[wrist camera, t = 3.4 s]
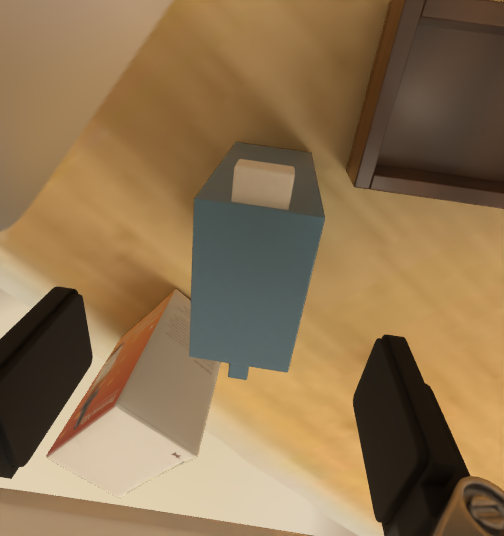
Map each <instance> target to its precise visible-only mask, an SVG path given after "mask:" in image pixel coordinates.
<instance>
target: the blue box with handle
mask: <svg viewBox="0 0 504 536" xmlns="http://www.w3.org/2000/svg"><path fill="white" fill-rule="evenodd" d="M324 221H325V215H324V211H323V206H322V201H321V196H320V191H319V187H318V182H317V177H316V172H315V168H314V163H313V158H312V153H310V152H303V151H296V150H289V149H282V148H275V147H268V146H261V145H254V144H247V143H240V142H235V144H234V145H233V146H232V148H231V149H230V151H229V152H228V153H227V155H226V156H225V157H224V159H223V160H222V161H221V163H220V164H219V166H218V167H217V168H216V170H215V171H214V172H213V174H212V175H211V176H210V178H209V179H208V181H207V182H206V183H205V185H204V186H203V187H202V189H201V190H200V191H199V193H198V194H197V195H196V197H195V198H194V216H193V248H192V280H191V313H190V345H189V357H194V358H200V359H206V360H212V361H219V362H225V363H230V364H229V372H228V377H230V378H237V379H243V380H247V376H248V370H249V366H250V367H256V368H262V369H269V370H275V371H281V372H288V370H289V366H290V362H291V358H292V354H293V349H294V345H295V341H296V337H297V333H298V329H299V325H300V320H301V316H302V312H303V308H304V304H305V300H306V296H307V292H308V287H309V283H310V279H311V275H312V271H313V267H314V263H315V258H316V254H317V250H318V246H319V242H320V238H321V234H322V230H323V225H324Z"/></svg>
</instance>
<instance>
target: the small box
mask: <svg viewBox="0 0 504 536" xmlns="http://www.w3.org/2000/svg"><path fill="white" fill-rule="evenodd" d="M190 313H191V300H189V299H188V298H187V297H186V296H184V295H183V294H182V293H181V292H180V291H178V290H177V289H175V290H174V291H173V292H172V293H171V294H170V295H169V296H168V297H167V298H166V299H165V300H163V301H162V302H161V303H160V304H159V305H158V306H157V307H156V308H155V309H154V310H152V311H151V312H150V313H149V314H148V315H147V316H145V317H144V318H143V319H142V320H141V321H140V322H138V323H137V324H136V325H135V326H134V327H133V328H132V329H131V330H129V331H128V332H127V333H126V334H125V335H124V336H122V337H121V339H120V340H119V342H118V343H117V345H116V347H115V348H114V350H113V352H112V353H111V355H110V356H109V358H108V359H107V361H106V363H105V364H104V366H103V367H102V369H101V370H100V372H99V374H98V375H97V377H96V378H95V380H94V381H93V383H92V385H91V386H90V388H89V390H88V391H87V393H86V394H85V396H84V398H83V399H82V400H81V402H80V403H79V405H78V406H77V408H76V410H75V411H74V413H73V414H72V416H71V417H70V419H69V421H68V422H67V424H66V426H65V427H64V429H63V430H62V432H61V433H60V435H59V437H58V438H57V440H56V441H55V443H54V444H53V446H52V447H51V449H50V451H49V452H48V454H47V455H46V456H47V458H48V459H50V460H51V461H53V462H55V463H56V464H58V465H60V466H62V467H63V468H65V469H67V470H69V471H70V472H72V473H74V474H76V475H78V476H79V477H81V478H83V479H85V480H87V481H88V482H90V483H92V484H94V485H96V486H97V487H99V488H101V489H103V490H104V491H106V492H108V493H110V494H112V495H114V496H116V497H117V498H121V497H123V496H124V495H126V494H127V493H129V492H130V491H132V490H134V489H136V488H137V487H139V486H141V485H143V484H144V483H146V482H148V481H150V480H152V479H154V478H156V477H158V476H159V475H161V474H163V473H165V472H167V471H169V470H171V469H173V468H175V467H177V466H179V465H181V464H183V463H185V462H188V461H190V460H192V459H195V458H197V457H198V454H199V449H200V445H201V441H202V437H203V433H204V429H205V425H206V421H207V416H208V412H209V408H210V404H211V400H212V396H213V392H214V388H215V384H216V380H217V376H218V372H219V368H220V364H221V362H219V361H212V360H206V359H200V358H194V357H189V345H190Z"/></svg>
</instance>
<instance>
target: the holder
mask: <svg viewBox="0 0 504 536" xmlns="http://www.w3.org/2000/svg"><path fill="white" fill-rule="evenodd" d="M346 172H347V174H348V176H349V178H350V180H351V182H352V184H353V186H354V187H357V188H363V189H371V190H378V191H385V192H391V193H398V194H405V195H412V196H419V197H426V198H433V199H440V200H447V201H454V202H460V203H467V204H474V205H481V206H488V207H495V208H502V209H504V2H500V1H492V0H392V1H390V2H389V6H388V10H387V13H386V17H385V21H384V25H383V29H382V33H381V37H380V41H379V45H378V49H377V53H376V56H375V60H374V64H373V68H372V72H371V76H370V80H369V84H368V88H367V92H366V96H365V99H364V103H363V107H362V111H361V115H360V119H359V123H358V127H357V131H356V135H355V139H354V142H353V146H352V150H351V154H350V158H349V162H348V166H347V170H346Z"/></svg>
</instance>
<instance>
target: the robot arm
mask: <svg viewBox="0 0 504 536" xmlns="http://www.w3.org/2000/svg"><path fill="white" fill-rule="evenodd" d="M91 363H92V349H91V344H90V338H89V332H88V326H87V320H86V314H85V308H84V302H83V297H82V295H80V294H78V292H77V290H75V289H71V288H64V287H54V288H53V289H52V290H51V291H50V292H49V293H48V294H47V295H46V296H45V297H44V298H42V299H41V300H40V301H39V302H38V303H37V304H36V305H35V306H34V307H33V308H32V309H31V310H30V311H29V312H28V313H27V314H26V315H25V316H24V317H23V318H22V319H21V320H20V321H19V322H18V323H17V324H16V325H14V326H13V327H12V328H11V329H10V330H9V331H8V332H7V333H6V334H5V335H4V336H3V337H2V338H1V339H0V477H4V478H10V479H12V477H13V475H14V474H15V473H16V471H17V470H18V468H19V467H23V466H24V465H26V463H27V462H28V461H29V460H30V458H31V457H32V455H33V453H34V452H35V450H36V449H37V447H38V446H39V444H40V442H41V441H42V440H43V438H44V437H45V435H46V433H47V432H48V430H49V429H50V427H51V426H52V424H53V423H54V421H55V420H56V418H57V417H58V415H59V413H60V412H61V410H62V409H63V407H64V406H65V404H66V403H67V401H68V399H69V398H70V396H71V395H72V393H73V392H74V390H75V389H76V387H77V386H78V384H79V383H80V381H81V379H82V378H83V376H84V375H85V373H86V372H87V370H88V369H89V367H90V365H91ZM353 407H354V412H355V417H356V422H357V427H358V433H359V438H360V443H361V448H362V453H363V458H364V463H365V469H366V474H367V479H368V484H369V489H370V494H371V499H372V504H373V510H374V514H375V518H376V520H377V521H378V522H382V526H383V531H384V536H504V491H503V490H502V489H501V488H499V487H498V486H496V485H495V484H493V483H491V482H490V481H488V480H485V479H482V478H480V477H473V476H470V474H469V472H468V469H467V467H466V465H465V463H464V460H463V458H462V456H461V454H460V451H459V449H458V447H457V445H456V442H455V440H454V438H453V436H452V433H451V431H450V429H449V427H448V424H447V422H446V420H445V418H444V415H443V413H442V411H441V409H440V407H439V404H438V402H437V400H436V398H435V395H434V393H433V391H432V389H431V388H430V386H429V385H427V384H425V383H424V380H423V378H422V376H421V373H420V371H419V369H418V366H417V364H416V362H415V359H414V357H413V355H412V352H411V350H410V348H409V346H408V343H407V341H406V339H405V338H404V337H399V336H392V335H384V336H383V337H382V339H381V338H378V339H376V341H375V344H374V346H373V349H372V351H371V354H370V356H369V359H368V361H367V364H366V366H365V369H364V371H363V374H362V376H361V379H360V381H359V384H358V386H357V389H356V391H355V394H354V398H353ZM0 536H312V535H306V534H299V533H293V532H287V531H281V530H275V529H268V528H262V527H256V526H249V525H243V524H237V523H231V522H224V521H217V520H212V519H204V518H199V517H192V516H186V515H179V514H173V513H166V512H160V511H154V510H147V509H141V508H133V507H128V506H121V505H114V504H108V503H100V502H94V501H88V500H81V499H74V498H68V497H61V496H54V495H48V494H40V493H34V492H27V491H20V490H11V489H4V488H0Z"/></svg>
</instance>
